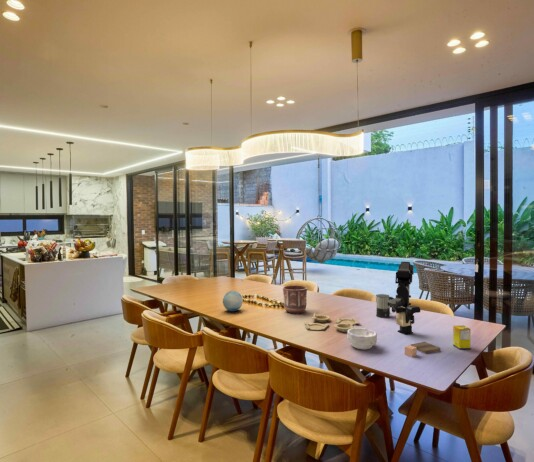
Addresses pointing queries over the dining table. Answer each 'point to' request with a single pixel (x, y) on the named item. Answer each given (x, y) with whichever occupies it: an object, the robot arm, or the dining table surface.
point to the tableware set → (342, 326)
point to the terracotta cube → (410, 351)
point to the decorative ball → (232, 301)
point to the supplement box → (461, 337)
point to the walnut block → (426, 347)
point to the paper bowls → (361, 338)
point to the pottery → (295, 298)
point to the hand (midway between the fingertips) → (403, 321)
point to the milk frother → (383, 305)
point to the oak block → (401, 319)
